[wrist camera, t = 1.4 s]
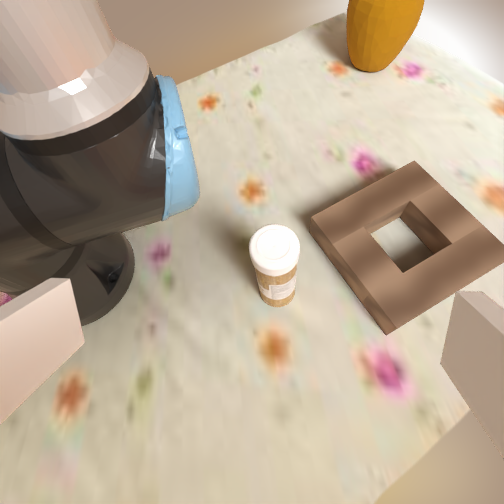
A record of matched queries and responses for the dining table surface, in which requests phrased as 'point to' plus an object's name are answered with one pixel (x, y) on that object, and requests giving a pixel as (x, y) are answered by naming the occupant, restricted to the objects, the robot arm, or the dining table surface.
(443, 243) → the frame
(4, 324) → the robot arm
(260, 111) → the dining table surface
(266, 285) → the sprinkles bottle
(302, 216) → the dining table surface
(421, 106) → the dining table surface
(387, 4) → the apple
